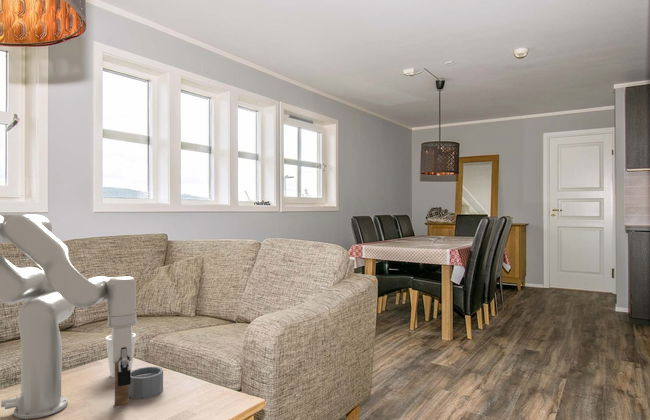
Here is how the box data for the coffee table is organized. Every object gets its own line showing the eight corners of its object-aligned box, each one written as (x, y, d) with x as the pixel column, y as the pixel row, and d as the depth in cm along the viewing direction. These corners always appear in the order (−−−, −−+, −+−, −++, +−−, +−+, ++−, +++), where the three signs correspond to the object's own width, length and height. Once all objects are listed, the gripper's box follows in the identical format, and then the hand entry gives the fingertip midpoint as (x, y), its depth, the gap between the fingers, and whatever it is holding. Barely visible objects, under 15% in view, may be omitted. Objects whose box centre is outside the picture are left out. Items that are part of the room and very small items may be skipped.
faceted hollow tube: (129, 401, 126) (129, 380, 126) (127, 389, 135) (127, 369, 135) (164, 394, 131) (164, 374, 131) (160, 383, 139) (160, 364, 139)
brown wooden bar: (114, 407, 122) (115, 357, 122) (114, 403, 124) (114, 355, 124) (128, 404, 124) (128, 355, 124) (127, 401, 126) (128, 353, 126)
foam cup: (141, 372, 149) (141, 335, 149) (116, 381, 141) (116, 341, 141) (125, 367, 154) (125, 331, 154) (99, 375, 146) (100, 337, 146)
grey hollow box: (134, 395, 129) (134, 381, 129) (132, 389, 133) (133, 376, 133) (158, 390, 132) (158, 377, 132) (156, 384, 136) (156, 372, 137)
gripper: (107, 315, 130) (108, 372, 130) (108, 328, 115) (109, 392, 115) (134, 312, 134) (135, 367, 134) (139, 324, 118) (140, 387, 118)
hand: (123, 379), depth 124 cm, fingers open, 9 cm apart
